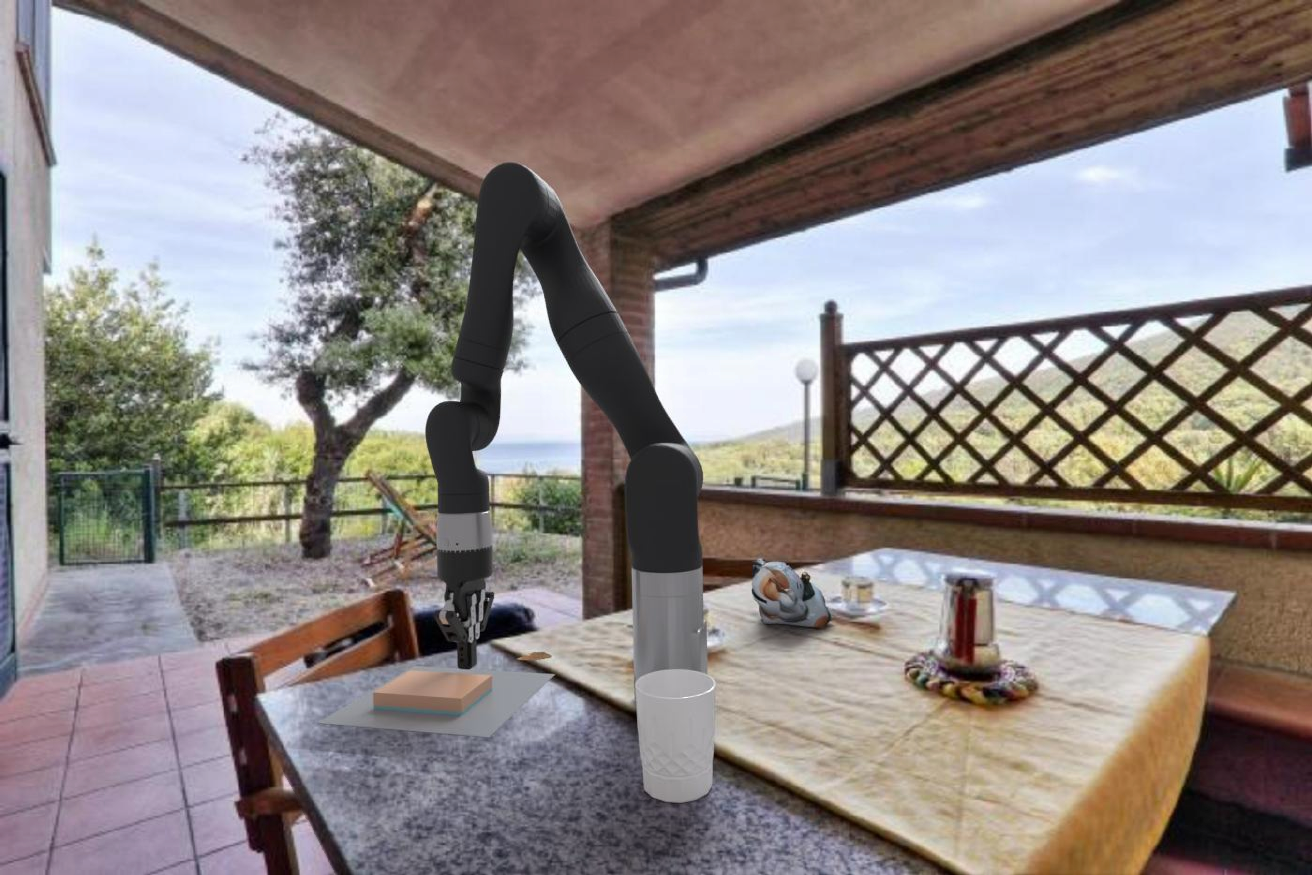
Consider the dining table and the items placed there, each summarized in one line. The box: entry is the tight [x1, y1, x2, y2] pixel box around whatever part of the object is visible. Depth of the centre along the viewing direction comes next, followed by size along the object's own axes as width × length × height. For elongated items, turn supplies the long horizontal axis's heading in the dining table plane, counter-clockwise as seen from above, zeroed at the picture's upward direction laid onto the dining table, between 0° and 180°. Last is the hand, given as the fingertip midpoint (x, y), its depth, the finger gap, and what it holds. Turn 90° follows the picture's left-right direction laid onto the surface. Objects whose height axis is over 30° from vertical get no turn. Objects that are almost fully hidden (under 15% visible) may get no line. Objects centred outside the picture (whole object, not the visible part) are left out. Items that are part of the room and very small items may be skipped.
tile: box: [373, 670, 492, 715], centre depth 85 cm, size 12×2×8 cm
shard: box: [516, 651, 553, 661], centre depth 100 cm, size 11×8×2 cm
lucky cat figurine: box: [751, 557, 835, 630], centre depth 120 cm, size 15×12×14 cm
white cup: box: [635, 669, 717, 804], centre depth 65 cm, size 8×8×10 cm
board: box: [317, 665, 556, 738], centre depth 86 cm, size 22×20×1 cm
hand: (467, 667), depth 93 cm, fingers closed
